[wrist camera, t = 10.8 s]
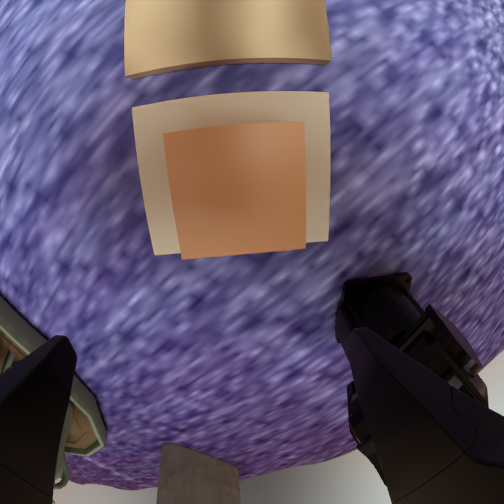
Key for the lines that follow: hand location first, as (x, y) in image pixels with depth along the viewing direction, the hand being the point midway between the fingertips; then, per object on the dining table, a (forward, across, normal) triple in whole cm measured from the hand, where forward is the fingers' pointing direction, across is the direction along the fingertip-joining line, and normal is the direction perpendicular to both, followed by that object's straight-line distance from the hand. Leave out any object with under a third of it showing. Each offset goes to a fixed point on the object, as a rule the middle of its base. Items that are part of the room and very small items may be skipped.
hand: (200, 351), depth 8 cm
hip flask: (+12, +6, +39) cm, 42 cm away
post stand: (+12, -1, -16) cm, 20 cm away
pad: (+12, -1, -3) cm, 12 cm away
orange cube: (+11, -1, -3) cm, 12 cm away
